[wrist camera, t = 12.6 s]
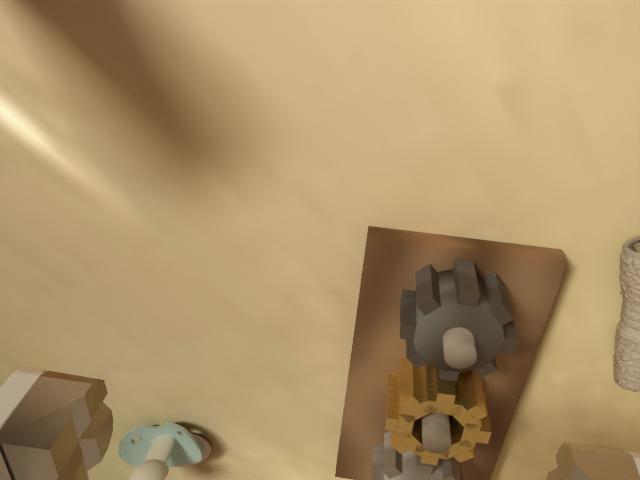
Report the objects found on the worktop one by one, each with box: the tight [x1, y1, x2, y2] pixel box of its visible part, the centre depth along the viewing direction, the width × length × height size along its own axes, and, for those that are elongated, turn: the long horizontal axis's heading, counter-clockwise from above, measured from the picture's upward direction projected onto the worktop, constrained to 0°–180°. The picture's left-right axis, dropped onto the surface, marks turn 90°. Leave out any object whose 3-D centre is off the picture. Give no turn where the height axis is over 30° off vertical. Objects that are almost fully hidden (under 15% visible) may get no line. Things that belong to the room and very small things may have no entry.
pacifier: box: [118, 423, 211, 480], centre depth 47 cm, size 7×6×6 cm
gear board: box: [335, 226, 568, 480], centre depth 39 cm, size 12×23×6 cm, turn 176°
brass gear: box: [385, 357, 492, 465], centre depth 39 cm, size 7×7×4 cm
